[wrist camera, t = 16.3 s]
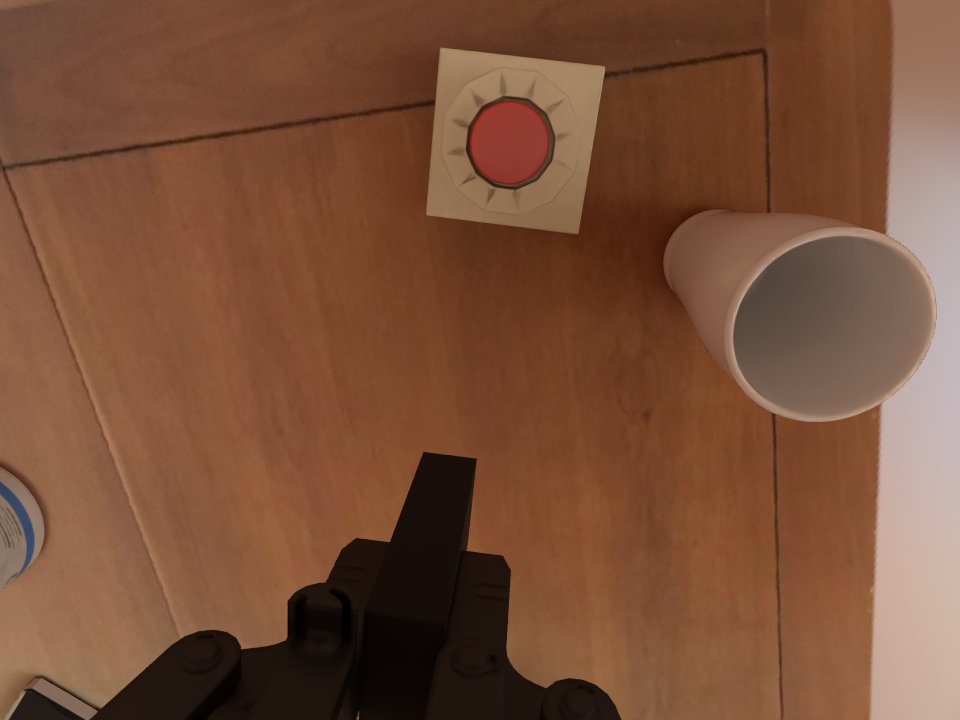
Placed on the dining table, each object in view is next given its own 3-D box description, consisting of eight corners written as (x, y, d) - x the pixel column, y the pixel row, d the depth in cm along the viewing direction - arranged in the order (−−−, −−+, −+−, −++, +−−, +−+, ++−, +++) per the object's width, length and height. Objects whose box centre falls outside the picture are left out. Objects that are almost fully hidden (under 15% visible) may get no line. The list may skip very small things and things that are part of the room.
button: (553, 108, 30) (554, 105, 28) (542, 186, 31) (542, 189, 30) (477, 99, 30) (474, 96, 29) (469, 177, 31) (465, 179, 30)
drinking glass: (641, 314, 36) (708, 419, 22) (655, 191, 34) (740, 219, 20) (763, 321, 36) (913, 432, 22) (785, 196, 34) (967, 229, 20)
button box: (601, 71, 33) (609, 61, 29) (575, 229, 35) (581, 239, 31) (445, 53, 33) (434, 41, 29) (431, 211, 36) (419, 218, 32)
